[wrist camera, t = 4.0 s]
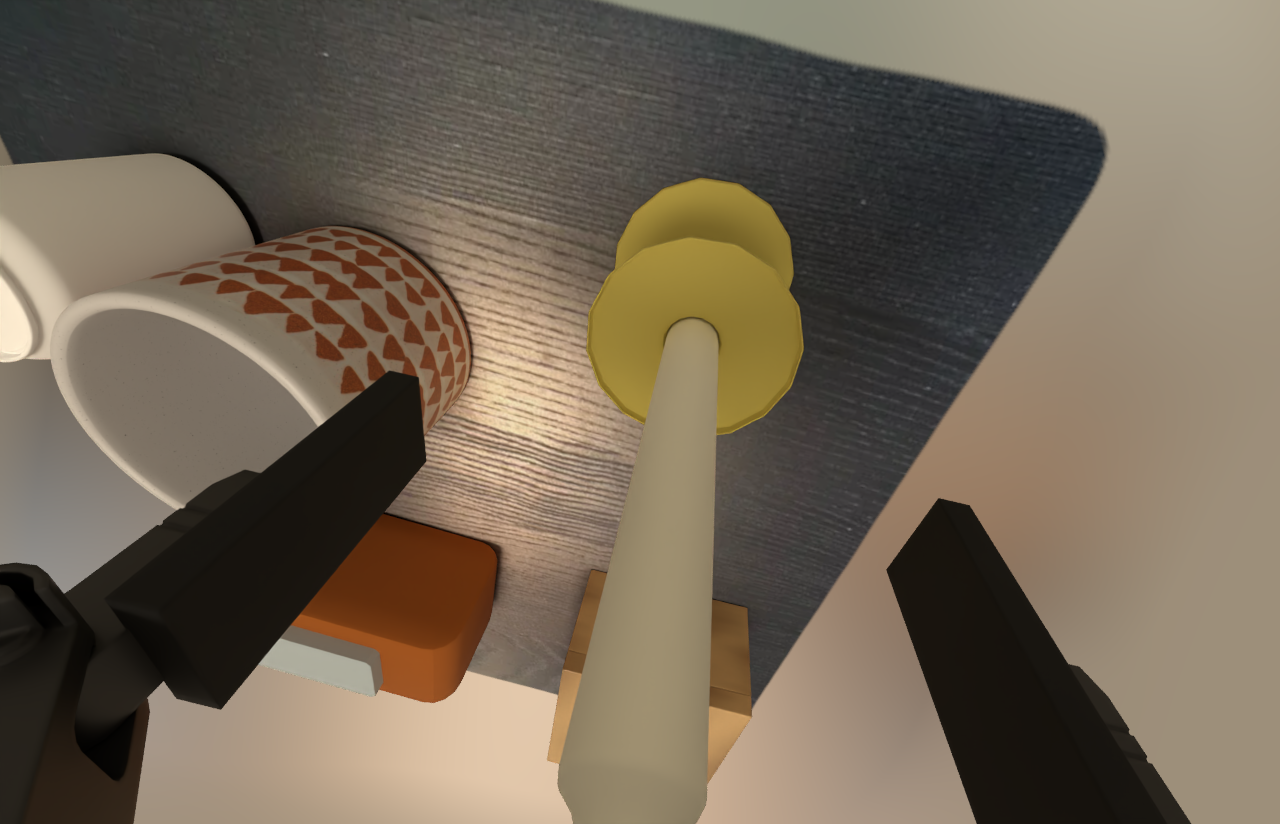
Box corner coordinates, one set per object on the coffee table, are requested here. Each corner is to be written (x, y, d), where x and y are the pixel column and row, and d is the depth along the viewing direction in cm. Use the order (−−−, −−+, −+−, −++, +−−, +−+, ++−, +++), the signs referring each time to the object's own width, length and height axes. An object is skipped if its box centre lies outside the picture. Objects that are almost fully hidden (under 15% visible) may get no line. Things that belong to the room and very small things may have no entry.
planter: (353, 174, 27) (111, 218, 16) (515, 363, 32) (411, 491, 21) (239, 299, 32) (3, 393, 22) (391, 443, 38) (260, 576, 27)
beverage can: (131, 235, 31) (-151, 296, 21) (140, 119, 27) (-204, 127, 17) (252, 312, 33) (45, 403, 23) (278, 215, 29) (40, 273, 19)
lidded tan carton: (747, 607, 42) (752, 717, 34) (701, 697, 51) (697, 799, 43) (591, 569, 42) (562, 669, 35) (573, 664, 51) (546, 760, 43)
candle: (701, 385, 31) (640, 1145, 8) (580, 279, 28) (10, 963, 6) (833, 271, 26) (1551, 1368, 3) (700, 130, 23) (38, 810, 1)
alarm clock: (261, 534, 47) (143, 643, 37) (242, 471, 42) (102, 577, 33) (498, 601, 47) (441, 727, 37) (505, 546, 42) (441, 674, 33)
